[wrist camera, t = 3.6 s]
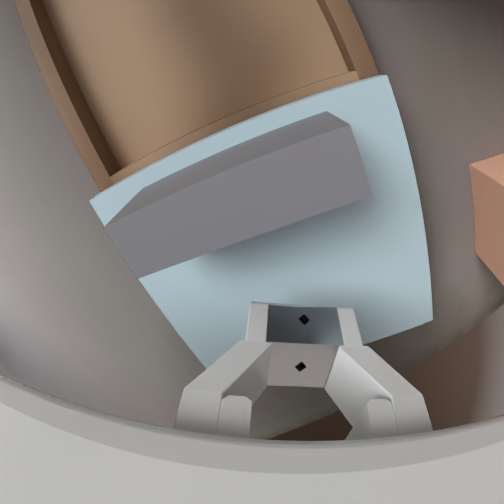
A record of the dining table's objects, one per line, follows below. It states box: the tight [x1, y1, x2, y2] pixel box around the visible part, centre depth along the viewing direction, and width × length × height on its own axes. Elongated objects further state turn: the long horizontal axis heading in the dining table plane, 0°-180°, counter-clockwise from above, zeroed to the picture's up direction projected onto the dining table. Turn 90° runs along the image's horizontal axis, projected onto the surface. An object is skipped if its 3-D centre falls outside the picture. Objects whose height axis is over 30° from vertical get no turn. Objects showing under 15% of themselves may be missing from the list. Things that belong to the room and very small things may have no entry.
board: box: [14, 0, 379, 192], centre depth 10 cm, size 10×21×1 cm, turn 23°
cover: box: [90, 75, 433, 369], centre depth 10 cm, size 10×10×4 cm
